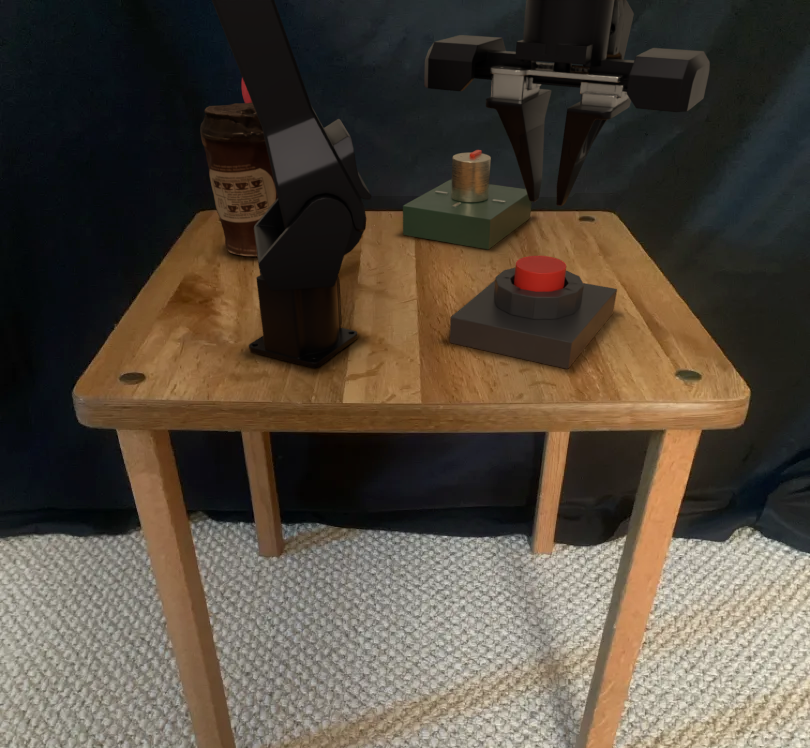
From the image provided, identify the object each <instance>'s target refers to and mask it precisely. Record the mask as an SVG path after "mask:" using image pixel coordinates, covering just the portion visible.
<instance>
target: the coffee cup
mask: <svg viewBox="0 0 810 748" xmlns="http://www.w3.org/2000/svg"><path fill="white" fill-rule="evenodd" d="M203 112H204V114H205V115H204V117H203V119H202V120H203V121H202V122H201V123H200V126H199V127H200V129H199V131H200V139H201V143H202V146H203V148H204V152H205V156H206V162H207V167H208V175H209V180H210V185H211V189H212V193H213V199H214V205H215V208H216V213H217V215H218V217H219V220H220V224H221V227H222V230H223V235H224V244H225V247H226V250H227V251H228V253H230V254H234V255H238V256H244V257H257V249H256V241H255V234H254V226H255V225H256V223H257V222H258V221H259V220H260V219H261V217H262V216H263V215H264V214H265V213H266V211H267V210H268V209H269V208H270V207H271V205H272V204H273V203H274V202H275V201H276V200H277V198H278V196H277V191H276V187H275V183H274V178H273V174H272V169H271V165H270V160H269V156H268V151H267V147H266V143H265V138H264V134H263V129H262V126H261V123H260V121H259V118H258V116H257V113H256V111H255V108H254V106H253V103H245V102H244V103H240V102H239V103H237V102H236V103H235V102H234V103H231V104H224V105H209V106H207V107H205V109H204V110H203Z"/></svg>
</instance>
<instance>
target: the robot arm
mask: <svg viewBox="0 0 810 748" xmlns="http://www.w3.org/2000/svg"><path fill="white" fill-rule="evenodd" d="M211 2H212V4H213V7H214V10H215V12H216V14H217V17H218V20H219V22H220V25H221V27H222V30H223V33H224V35H225V37H226V40H227V43H228V45H229V47H230V50H231V53H232V55H233V58H234V60H235V62H236V66H237V69H238V70H239V73H240V75H241V79H242V78H243V80H244V83H245V86H246V88H247V91H248V93H249V96H250V98H251V101H252V103H253V106H254V108H255V111H256V113H257V116H258V118H259V121H260V123H261V126H262V129H263V134H264V138H265V143H266V147H267V151H268V156H269V160H270V165H271V169H272V174H273V178H274V183H275V187H276V191H277V196H278V198H277V200H276V201H275V202H274V203H273V204H272V205H271V207H270V208H269V209H268V210H267V211H266V213H265V214H264V215H263V216H262V217H261V219H260V220H259V221H258V222H257V223H256V225H255V226H254V234H255V241H256V249H257V256H256V257H257V265H258V269H259V275H258V276H256V277H255V279H256V285H257V286H256V287H257V288H256V289H257V296H258V304H259V311H260V318H261V319H260V321H261V328H262V329H261V330H262V335H261V336H260V337H258V338H257V339H255V340H254V341H252V342H251V343H249V344H248V349H249V350H248V351H249V352H250V353H252V354H257V355H260V356H264V357H268V358H272V359H276V360H280V361H284V362H288V363H292V364H295V365H299V366H304V367H308V368H312V369H313V368H319V367H321V366H322V365H324V364H325V363H326V362H327V361H329V360H330V359H332V358H333V357H335V355H337V354H338V353H340V352H341V351H343V350H344V349H346V348H347V347H348V346H350V345H351V344H352V343H353V342H355V341H356V340H357V339H358V338H359V337H358V332H357V331H356V330H353V329H349V328H345V327H344V328H343V327H342V325H343V323H342V322H343V319H342V299H341V298H342V297H341V281H340V276H339V274H340V271H341V267H342V264H343V260H344V257H345V256H346V255H347V254H349V253H351V252H352V251H353V249H354V248H355V247H356V246H357V245H358V244H359V243H360V241H361V239H362V236H363V234H364V232H365V230H366V228H367V214H366V209H365V204H364V203H363V202H364V201H363V200H368V201H369V200H371V199H372V194H371V193H370V190H369V188H368V187H367V185H366V183H365V181H364V179H363V178H362V175H361V174H360V172H359V170H358V166H357V161H356V153H355V147H354V144H353V139H352V137H351V135H350V133H349V132H348V130H347V128H346V127H345V125H344V124H343V122H342V120H341V119H340V118H338V119H335V120H334V121H332V122H331V123H330V124H328V125H326V126H325V127H324V126H323V124H322V122H321V120H320V119H319V117H318V115H317V113H316V111H315V110H314V108H313V106H312V104H311V100H310V98H309V94H308V92H307V89H306V86H305V83H304V81H303V78H302V74H301V72H300V69H299V66H298V63H297V61H296V58H295V55H294V52H293V49H292V47H291V44H290V41H289V38H288V35H287V32H286V30H285V27H284V23H283V21H282V18H281V15H280V12H279V9H278V6H277V3H276V2H275V0H211ZM634 16H635V13H634V11H633V9H632V8H631V6H630V4H629V2H628V0H525V9H524V20H523V21H524V22H523V34H522V39H520V40H517V41H516V44H515V51H509V50H507V49H506V46H505V42H504V39H503V37H499V36H498V37H495V36H481V35H466V34H459V35H454V36H451V37H448V38H443V39H440V40H436V41H433V43H432V44H431V46H430V47H429V48H428V51H427V53H426V56H425V59H424V76H423V77H424V82H423V83H424V86H423V87H424V88H426V89H430V90H431V89H432V90H441V91H452V92H462V91H465V89H466V88H467V87H468V86H469V85H470V84H471V83H472V82H473V81H474V80H476V79H478V80H488V81H491V83H490V85H491V87H490V96H489V97H487V98H485V107H486V108H488V109H494V110H496V112H497V114H498V117H499V118H500V121H501V123H502V126H503V128H504V130H505V133H506V135H507V137H508V139H509V142H510V145H511V147H512V149H513V153H514V156H515V159H516V162H517V165H518V168H519V173H520V174H521V178H522V181H523V184H524V189H526V191H527V195H528V198H529V200H530V201H531V202H532V203H535V202H537V201H538V200H539V199H540V194H541V187H542V181H543V168H544V167H543V166H544V144H545V143H544V141H545V123H546V121H545V120H546V115H547V111H548V107H549V102H550V98H551V94H552V89H547V88H546V89H545V88H540V87H541V86H542V85H545V86H555V87H568V88H577V89H578V88H579V95H581V96H580V101H579V102H577V103H575V104H573V105H571V106H569V107H567V109H566V117H565V121H564V122H565V123H564V129H563V135H562V144H561V152H560V159H559V168H558V174H557V180H556V206H558V207H559V206H560V207H562V206H564V205H565V204H566V203H567V201H568V198H569V196H570V194H571V193H572V189H573V188H574V185H575V183H576V181H577V178H578V176H579V174H580V172H581V169H582V167H583V165H584V163H585V161H586V159H587V156H588V154H589V152H590V151H591V148H592V146H593V144H594V142H595V140H596V139H597V137H598V136H599V134H600V132H601V130H602V129H603V127H604V125H605V124H606V122H607V121H608V120H611V119H613V118H614V117H617V116H618V115H619V114H621V113H622V112H624V111H626V110H627V109H629V108H630V106H631V104H633V106H634V108H635V109H638V110H639V109H640V110H650V111H660V112H669V113H670V112H672V113H686V112H688V111H690V110H691V109H692V108H694V107H695V106H696V105H697V104H698V103H700V102H701V101H702V100H704V98H705V93H706V88H707V84H708V80H709V74H710V67H711V66H710V63H711V62H710V60H709V58H708V57H707V54H706V52H705V50H692V49H691V50H690V49H676V48H659V47H651V48H650V49H648V50H645V51H644V52H642V53H640V54H638V55H636V56H635V58H634V59H625V55H626V50H627V46H628V42H629V37H630V33H631V29H632V25H633V20H634Z"/></svg>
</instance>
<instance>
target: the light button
mask: <svg viewBox="0 0 810 748" xmlns="http://www.w3.org/2000/svg"><path fill="white" fill-rule="evenodd" d="M514 268H515V278H514V285H515V286H517V287H519V288H521V289H524V290H530V291H535V292H547V291H556V290H559V289H563V288H564V282H565V274H566V270H567V263H566V262H565V261H563V260H562V259H560V258H557V257H553V256H549V255H529V256H524V257H520V258H519V259H517V260H516V262H515V267H514Z"/></svg>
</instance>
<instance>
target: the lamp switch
mask: <svg viewBox="0 0 810 748" xmlns="http://www.w3.org/2000/svg"><path fill="white" fill-rule="evenodd" d="M514 278H515V267H511V268H507V269H503V270H502V271H500V273H499V274H498V275H496V276H495V278H494V280H493V281H492V282H490V284H488V285H487V286H486V287H485V288H483V289H482V290H481V291H480V292H478V293H477V294H476V295H475V296H474V297H473V298H471V299H470V300H469V301H468V302H467V303H465V305H463V306H462V307H461V308H460V309H458V310H457V311H456V312H455V313H453V314H452V315H451V316H450V325H449V344H453V345H459V346H463V347H467V348H470V349H471V348H472V349H476V350H481V351H485V352H489V353H494V354H498V355H503V356H508V357H513V358H517V359H521V360H526V361H529V362H535V363H539V364H543V365H548V366H552V367H557V368H562V369H566V370H569V369H570V368H571V366H572V365H573V364H574V362H575V361H576V360H577V359H578V357H579V356H580V355H581V353H583V352H584V350H585V349H586V348H587V346H588V345H589V344H590V343H591V341H592V340H593V339H594V338H595V336H596V335H597V334H598V333H599V331H600V330H601V329H602V328H603V326H605V324H606V323H607V321H608V320H609V319H610V318H611V317H612V316H613V314H614V310H615V304H616V299H617V292H618V289H617V288H614V287H608V286H604V285H603V286H602V285H598V284H597V285H596V284H592V283H586V282H583V280H582V278H581V277H580V276H579V275H577V274H575V273H573V272H572V271H571V272H570V270H567V269H566V274H565V282H564V288H563V289H559V290H556V291H547V292H535V291H530V290H524V289H521V288H519V287H517V286H515V285H514Z"/></svg>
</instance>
